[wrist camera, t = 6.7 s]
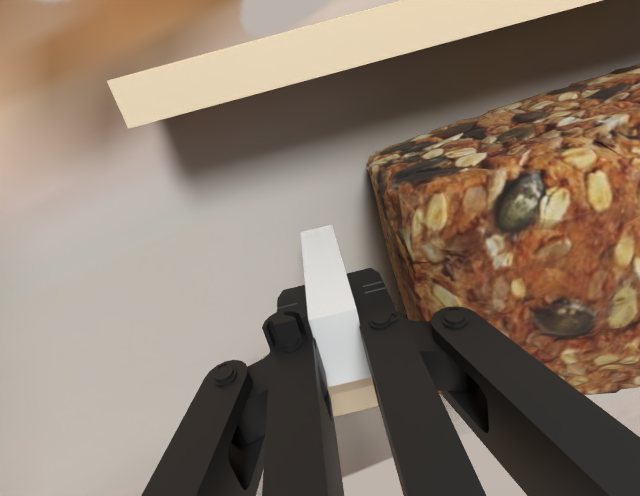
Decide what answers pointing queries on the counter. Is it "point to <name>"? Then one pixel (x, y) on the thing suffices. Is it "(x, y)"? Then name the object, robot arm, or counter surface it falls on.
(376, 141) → the counter surface
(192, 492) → the robot arm
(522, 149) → the bread
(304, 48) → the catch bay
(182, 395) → the counter surface
